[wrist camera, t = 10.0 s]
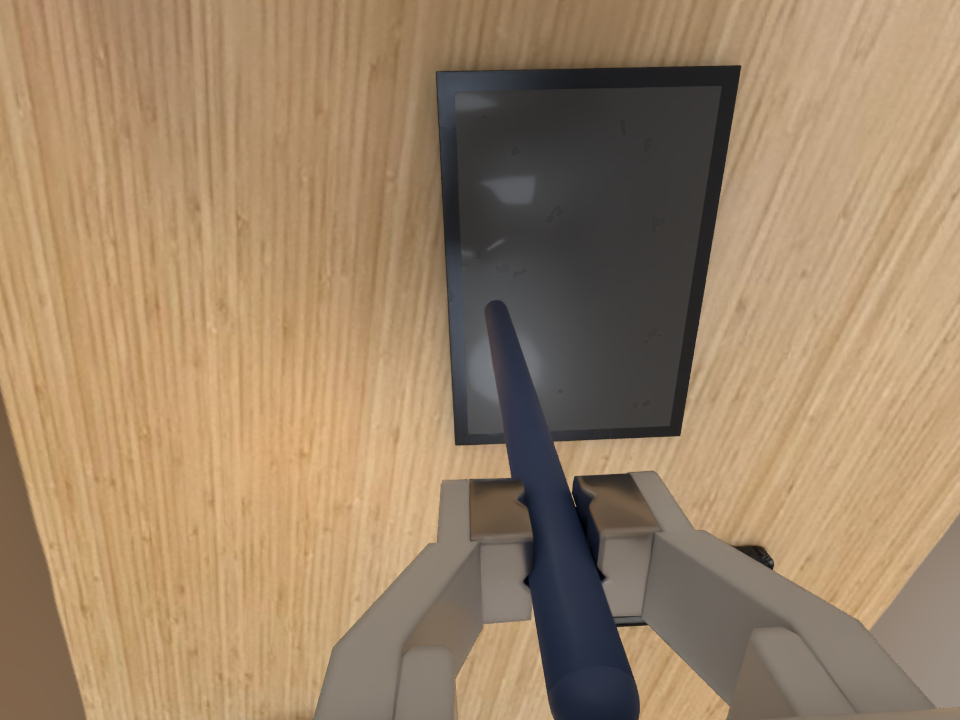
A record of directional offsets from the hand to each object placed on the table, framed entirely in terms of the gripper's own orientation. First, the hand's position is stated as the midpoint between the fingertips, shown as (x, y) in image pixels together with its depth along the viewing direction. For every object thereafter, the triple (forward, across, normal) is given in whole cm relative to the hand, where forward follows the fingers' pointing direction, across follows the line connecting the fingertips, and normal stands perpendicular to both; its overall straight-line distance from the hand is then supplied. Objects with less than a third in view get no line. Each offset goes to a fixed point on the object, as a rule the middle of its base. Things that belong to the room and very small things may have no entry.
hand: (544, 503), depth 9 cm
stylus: (+5, 0, 0) cm, 5 cm away
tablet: (+23, -6, +1) cm, 24 cm away
